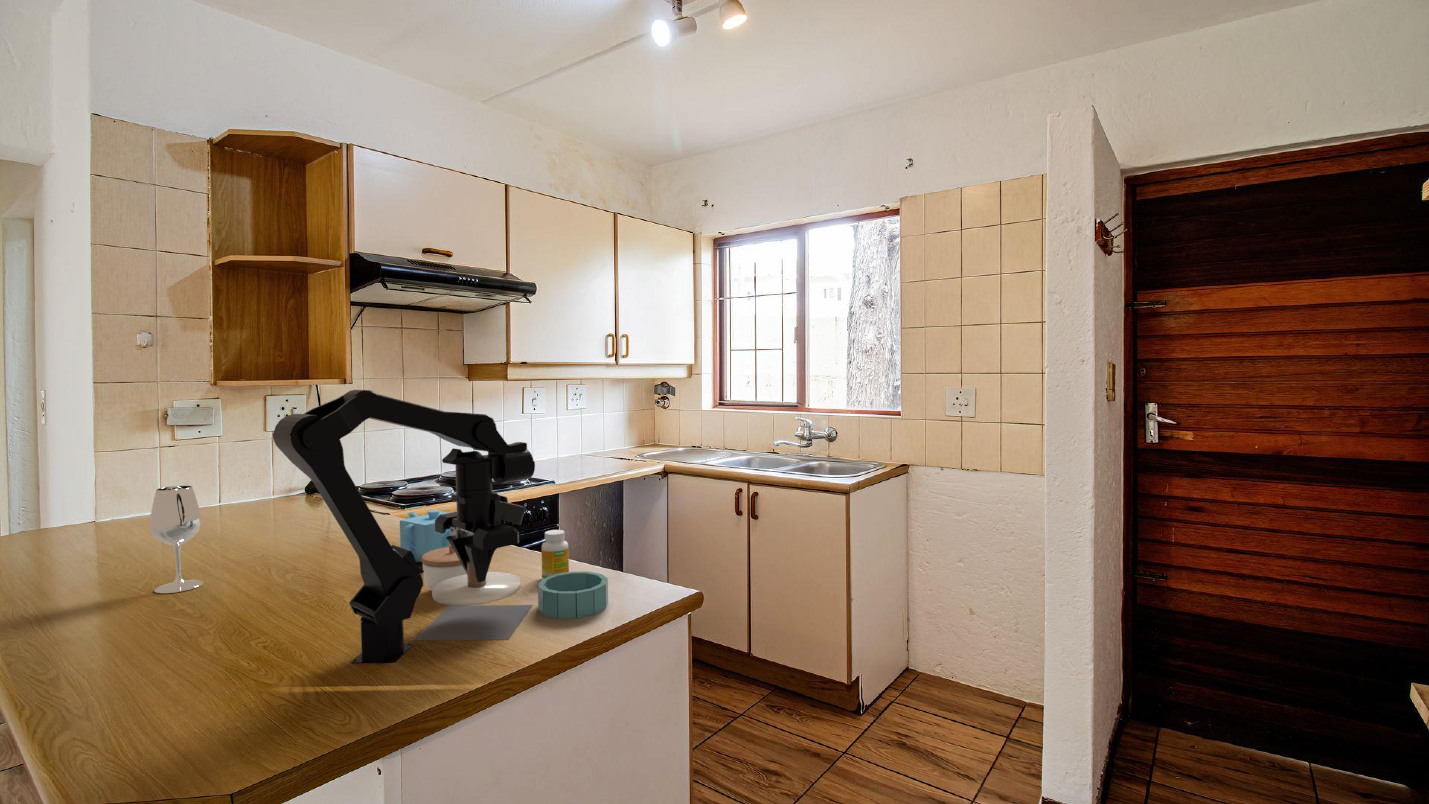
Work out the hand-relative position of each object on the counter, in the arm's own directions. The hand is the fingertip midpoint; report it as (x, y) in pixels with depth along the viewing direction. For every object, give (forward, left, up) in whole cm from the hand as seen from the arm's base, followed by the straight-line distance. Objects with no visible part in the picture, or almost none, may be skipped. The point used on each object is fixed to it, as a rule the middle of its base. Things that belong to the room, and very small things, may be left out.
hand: (476, 579), depth 111 cm
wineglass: (+21, +66, -8) cm, 70 cm away
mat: (0, 0, -8) cm, 8 cm away
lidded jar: (+16, +10, -8) cm, 20 cm away
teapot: (+39, +23, -8) cm, 46 cm away
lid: (0, 0, -2) cm, 2 cm away
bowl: (+7, -15, -8) cm, 18 cm away
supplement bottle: (+24, -8, -8) cm, 26 cm away
